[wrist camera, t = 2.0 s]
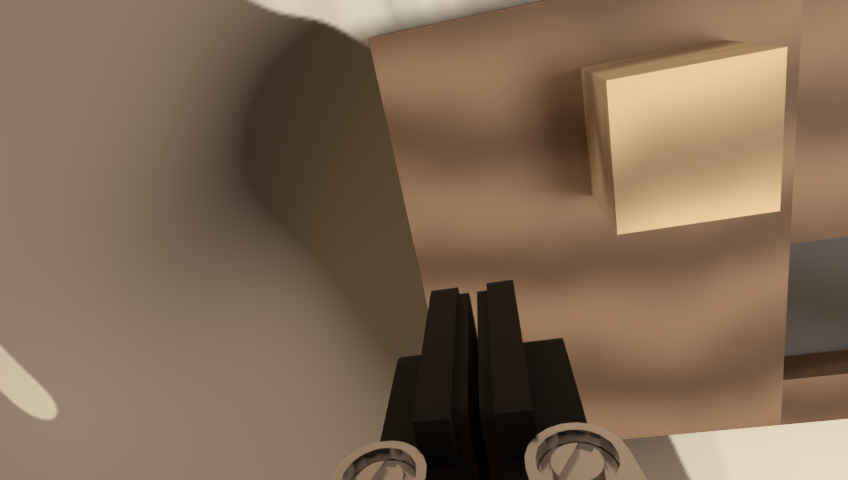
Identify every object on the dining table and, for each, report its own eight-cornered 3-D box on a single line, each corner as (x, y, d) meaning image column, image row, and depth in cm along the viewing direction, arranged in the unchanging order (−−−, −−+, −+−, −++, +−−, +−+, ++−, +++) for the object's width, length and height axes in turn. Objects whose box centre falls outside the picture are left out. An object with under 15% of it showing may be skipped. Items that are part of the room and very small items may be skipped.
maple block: (580, 67, 24) (606, 80, 20) (725, 39, 23) (787, 46, 19) (592, 195, 26) (617, 234, 22) (724, 175, 25) (780, 211, 21)
